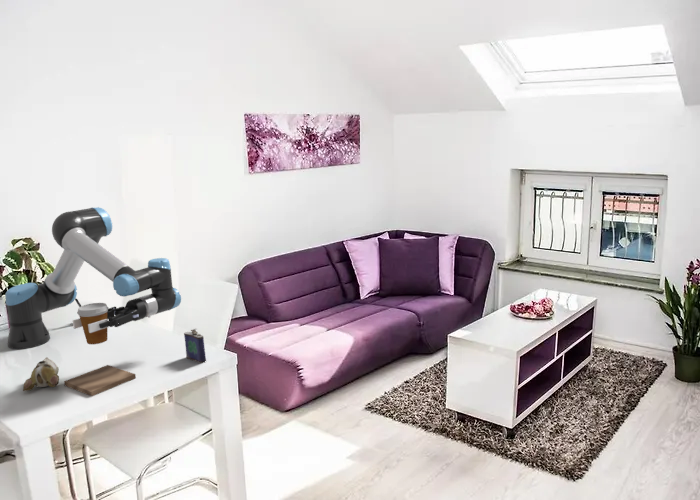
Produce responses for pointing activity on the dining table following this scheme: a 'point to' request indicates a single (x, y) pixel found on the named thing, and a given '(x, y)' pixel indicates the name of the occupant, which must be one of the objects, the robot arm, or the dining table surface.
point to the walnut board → (99, 380)
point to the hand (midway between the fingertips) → (81, 326)
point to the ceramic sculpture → (43, 375)
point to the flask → (195, 346)
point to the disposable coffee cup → (93, 321)
